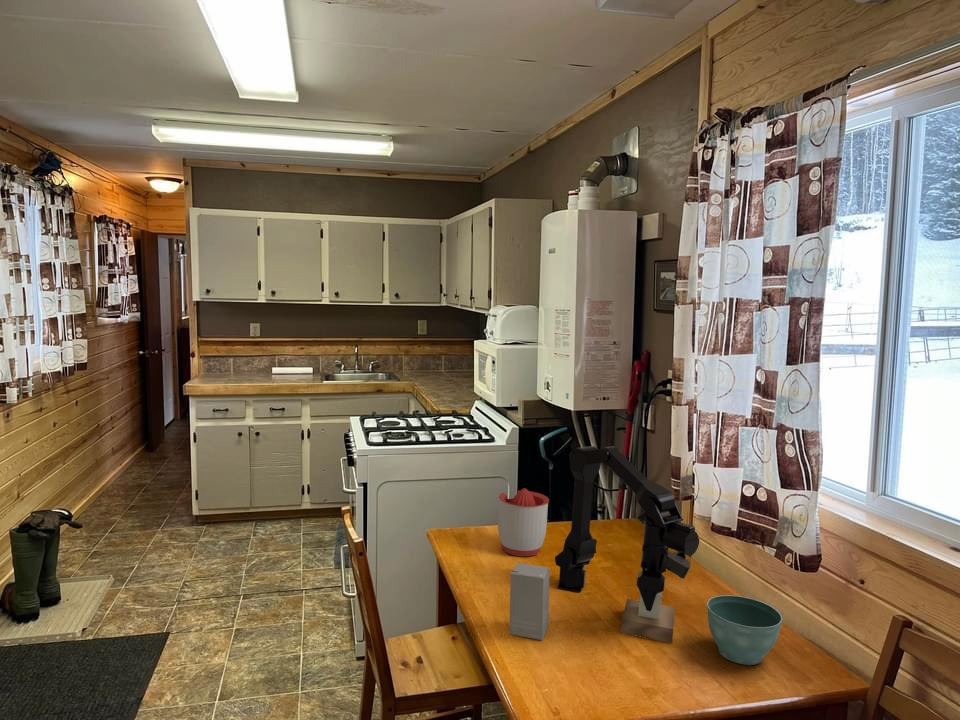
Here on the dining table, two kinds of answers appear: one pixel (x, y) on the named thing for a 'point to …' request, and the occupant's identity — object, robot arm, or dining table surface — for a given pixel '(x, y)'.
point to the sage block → (655, 609)
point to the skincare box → (529, 601)
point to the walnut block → (648, 622)
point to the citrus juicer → (522, 522)
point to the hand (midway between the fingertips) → (650, 602)
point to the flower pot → (743, 627)
